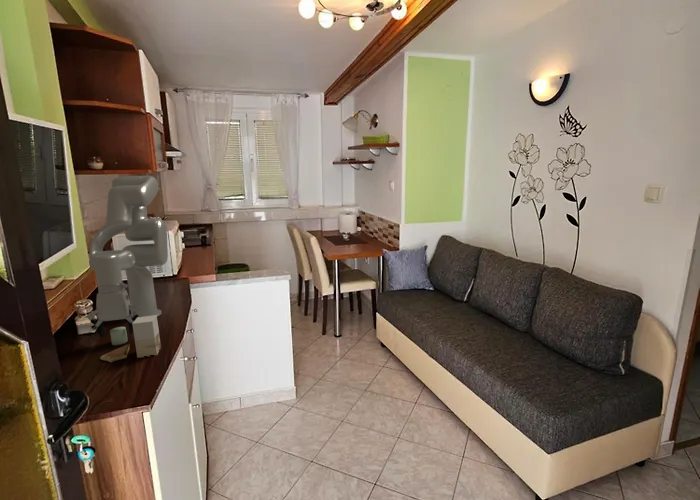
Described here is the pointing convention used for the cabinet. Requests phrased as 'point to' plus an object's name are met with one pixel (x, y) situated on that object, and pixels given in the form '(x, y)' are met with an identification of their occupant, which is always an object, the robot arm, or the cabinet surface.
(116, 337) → the green cylinder
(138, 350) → the tower base
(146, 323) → the tower top
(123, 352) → the shard
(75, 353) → the cabinet surface
